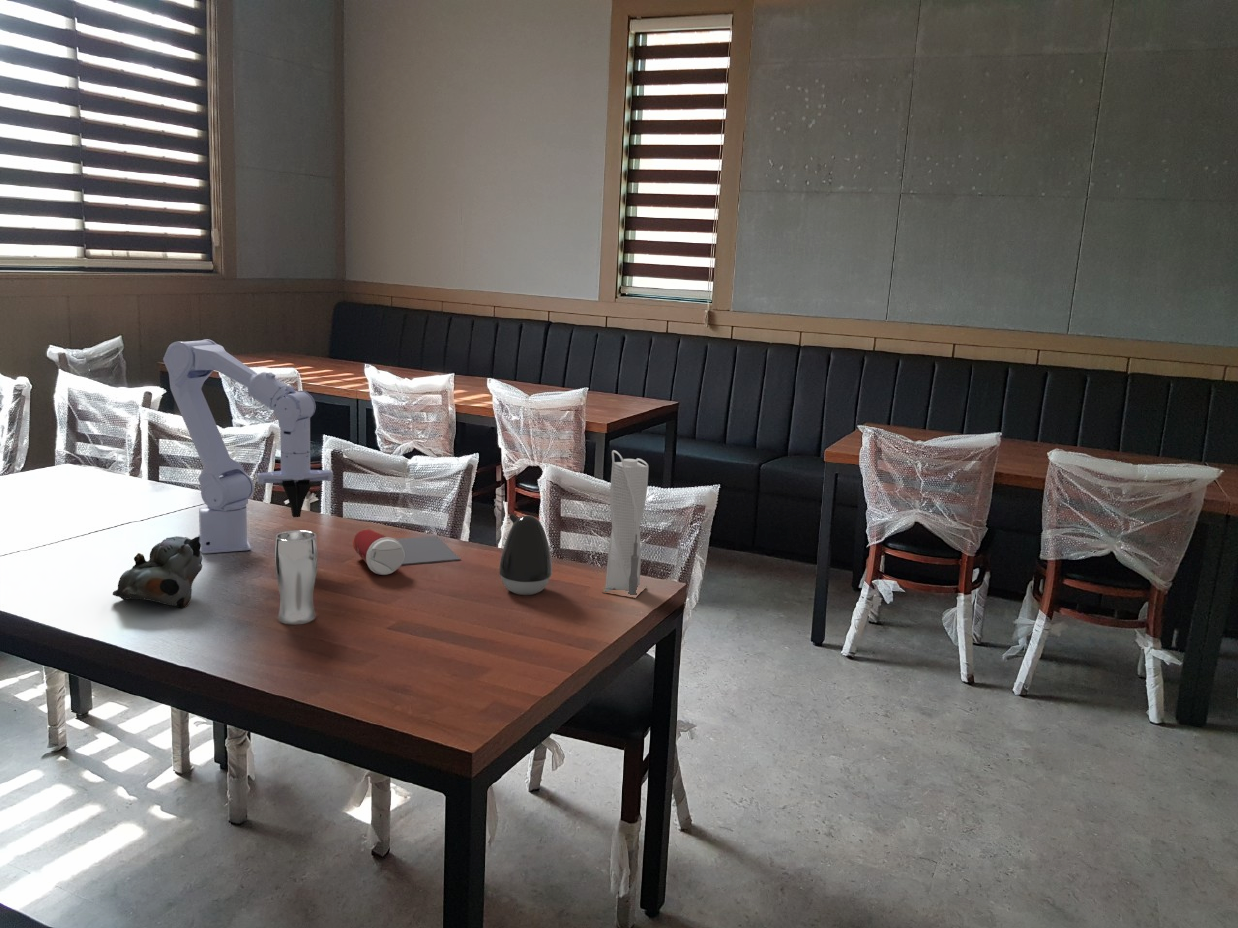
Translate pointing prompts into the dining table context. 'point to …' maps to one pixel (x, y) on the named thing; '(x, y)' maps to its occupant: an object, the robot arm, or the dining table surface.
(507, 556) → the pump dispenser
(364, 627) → the dining table surface
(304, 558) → the beer glass
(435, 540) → the mat
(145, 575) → the lucky cat figurine
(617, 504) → the skyscraper
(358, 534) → the paper cup
